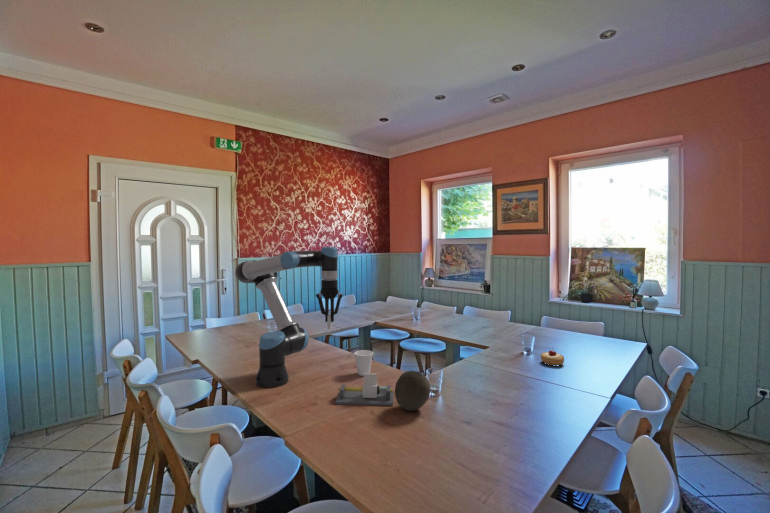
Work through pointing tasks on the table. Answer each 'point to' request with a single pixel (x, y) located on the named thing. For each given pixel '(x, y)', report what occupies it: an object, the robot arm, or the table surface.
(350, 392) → the horizontal rod stand
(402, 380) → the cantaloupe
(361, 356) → the cup
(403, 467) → the table surface
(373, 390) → the sleeve
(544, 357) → the pastry
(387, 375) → the table surface
